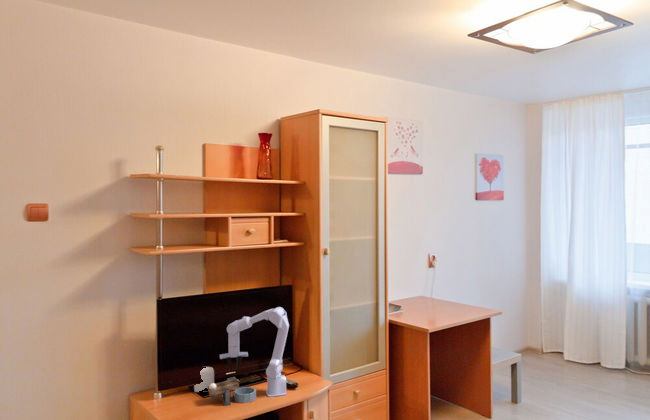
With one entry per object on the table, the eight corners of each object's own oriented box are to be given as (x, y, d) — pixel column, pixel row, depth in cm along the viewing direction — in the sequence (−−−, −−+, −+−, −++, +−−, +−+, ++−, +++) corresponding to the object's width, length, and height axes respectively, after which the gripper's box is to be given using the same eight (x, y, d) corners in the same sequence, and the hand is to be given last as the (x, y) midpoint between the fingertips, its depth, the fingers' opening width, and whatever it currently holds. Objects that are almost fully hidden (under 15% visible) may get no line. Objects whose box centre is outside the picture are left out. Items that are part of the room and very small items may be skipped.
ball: (217, 385, 252) (212, 380, 252) (218, 388, 249) (213, 383, 248) (212, 390, 251) (207, 385, 251) (212, 393, 248) (207, 388, 247)
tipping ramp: (235, 382, 264) (234, 373, 264) (240, 392, 250) (238, 383, 250) (207, 390, 260) (206, 381, 260) (210, 400, 246) (208, 391, 245)
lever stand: (227, 396, 258) (227, 381, 258) (230, 405, 247) (230, 389, 247) (221, 397, 257) (221, 382, 257) (224, 405, 246) (224, 390, 246)
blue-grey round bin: (253, 393, 262) (253, 385, 262) (257, 401, 252) (257, 393, 252) (233, 396, 258) (233, 388, 258) (236, 403, 248) (236, 395, 248)
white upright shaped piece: (194, 392, 263) (194, 369, 263) (194, 390, 267) (194, 366, 267) (214, 391, 265) (214, 367, 265) (214, 388, 269) (214, 365, 269)
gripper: (246, 342, 273) (246, 367, 273) (219, 344, 268) (219, 370, 269) (248, 345, 266) (248, 371, 266) (220, 348, 262) (220, 374, 262)
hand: (234, 371), depth 267 cm, fingers open, 3 cm apart
